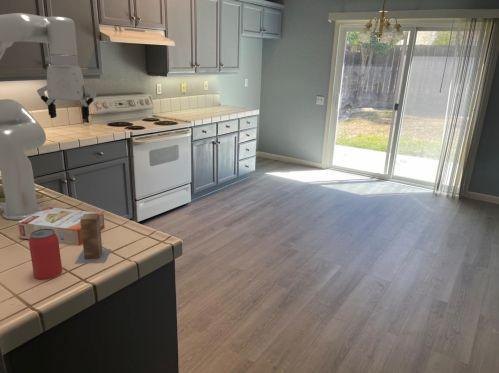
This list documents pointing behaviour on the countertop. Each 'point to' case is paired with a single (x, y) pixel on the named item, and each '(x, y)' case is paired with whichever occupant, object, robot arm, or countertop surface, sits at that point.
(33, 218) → the cracker box
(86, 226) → the walnut block
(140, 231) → the countertop surface
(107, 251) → the mat
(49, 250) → the beer can
